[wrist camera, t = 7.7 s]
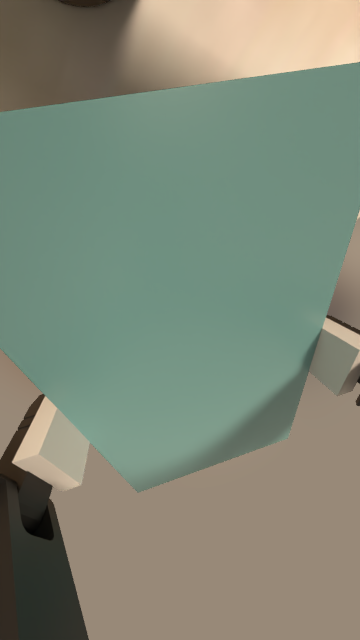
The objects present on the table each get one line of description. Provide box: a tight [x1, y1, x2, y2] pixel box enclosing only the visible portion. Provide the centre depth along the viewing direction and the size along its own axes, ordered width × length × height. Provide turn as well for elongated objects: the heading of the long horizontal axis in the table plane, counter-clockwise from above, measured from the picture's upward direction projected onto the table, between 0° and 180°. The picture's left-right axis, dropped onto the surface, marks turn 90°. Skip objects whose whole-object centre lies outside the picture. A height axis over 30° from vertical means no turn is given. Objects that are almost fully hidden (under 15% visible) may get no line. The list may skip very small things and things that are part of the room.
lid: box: [0, 62, 360, 492], centre depth 9 cm, size 17×11×4 cm, turn 10°
